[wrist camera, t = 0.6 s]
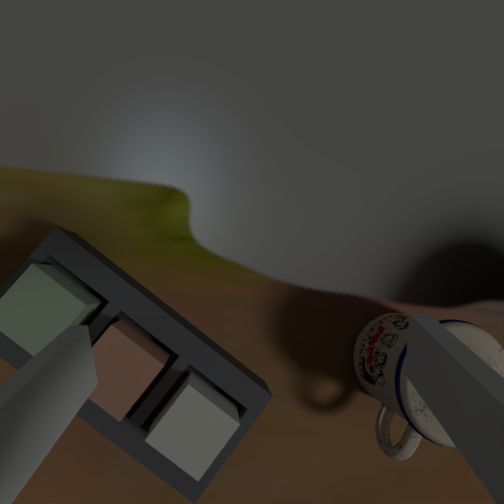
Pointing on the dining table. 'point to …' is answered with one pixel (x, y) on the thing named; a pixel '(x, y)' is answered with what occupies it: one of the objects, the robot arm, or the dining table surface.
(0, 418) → the robot arm
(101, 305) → the button panel
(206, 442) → the white button
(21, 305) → the green button
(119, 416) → the terracotta button
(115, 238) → the dining table surface
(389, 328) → the teacup with lid
